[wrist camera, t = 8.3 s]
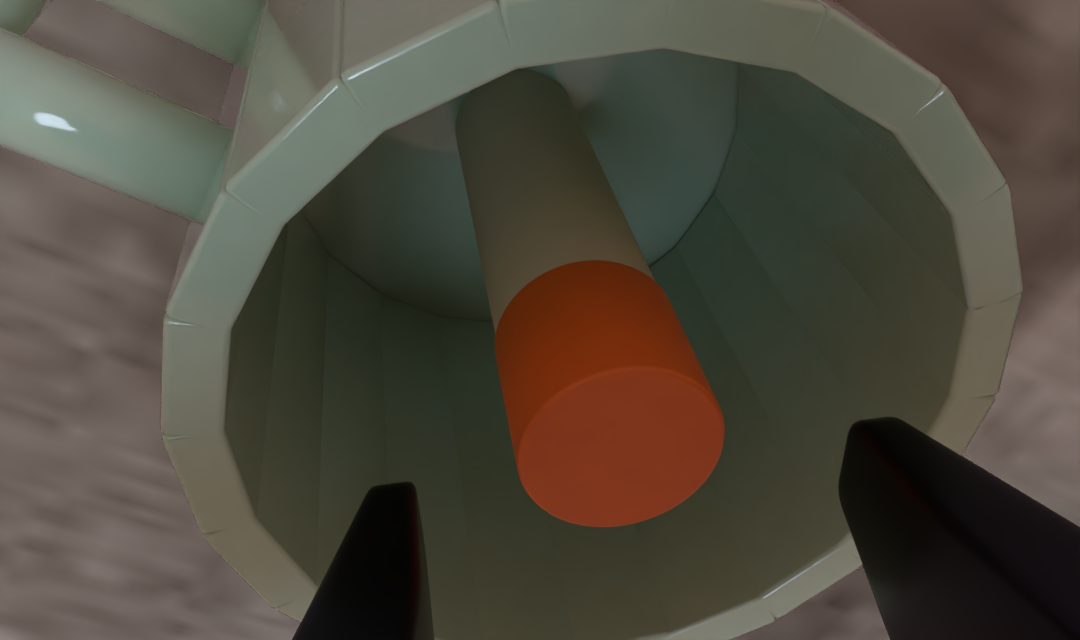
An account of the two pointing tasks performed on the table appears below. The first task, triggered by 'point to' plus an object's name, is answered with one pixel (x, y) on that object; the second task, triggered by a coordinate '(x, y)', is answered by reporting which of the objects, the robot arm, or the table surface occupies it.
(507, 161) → the marker
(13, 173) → the table surface
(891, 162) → the green handled mug
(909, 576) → the robot arm
